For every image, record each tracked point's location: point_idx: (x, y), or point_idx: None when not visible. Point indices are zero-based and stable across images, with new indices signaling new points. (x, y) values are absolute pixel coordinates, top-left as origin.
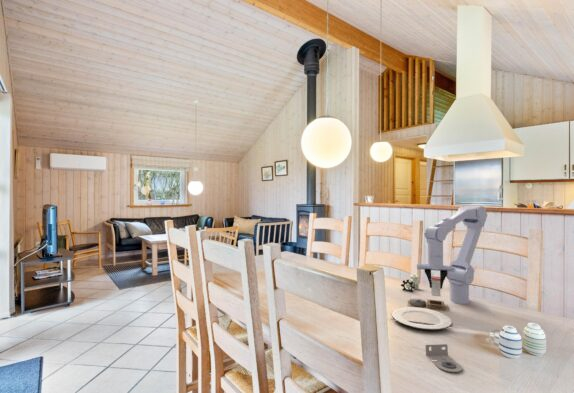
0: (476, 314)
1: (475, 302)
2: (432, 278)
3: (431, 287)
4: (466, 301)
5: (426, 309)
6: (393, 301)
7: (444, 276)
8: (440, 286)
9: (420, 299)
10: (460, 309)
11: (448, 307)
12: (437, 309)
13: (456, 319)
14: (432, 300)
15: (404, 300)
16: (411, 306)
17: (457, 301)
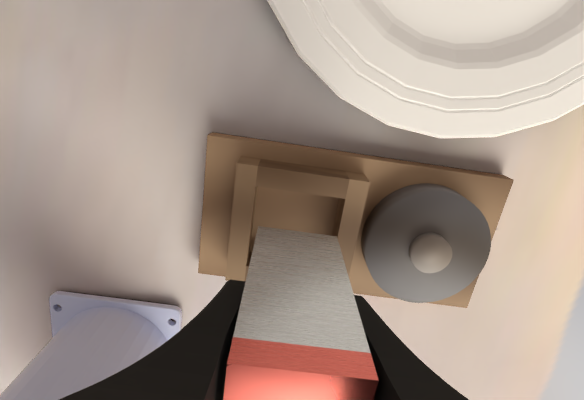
0: (32, 165)
1: None
2: (364, 376)
3: None
4: (62, 329)
5: (394, 102)
6: (556, 299)
7: (126, 385)
8: (242, 292)
9: (394, 290)
10: (128, 240)
11: (205, 219)
12: (296, 156)
13: (185, 17)
14: None
15: (470, 332)
16: (483, 180)
17: (125, 325)
